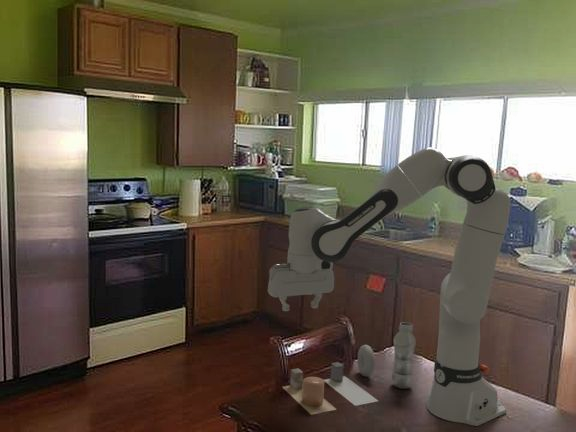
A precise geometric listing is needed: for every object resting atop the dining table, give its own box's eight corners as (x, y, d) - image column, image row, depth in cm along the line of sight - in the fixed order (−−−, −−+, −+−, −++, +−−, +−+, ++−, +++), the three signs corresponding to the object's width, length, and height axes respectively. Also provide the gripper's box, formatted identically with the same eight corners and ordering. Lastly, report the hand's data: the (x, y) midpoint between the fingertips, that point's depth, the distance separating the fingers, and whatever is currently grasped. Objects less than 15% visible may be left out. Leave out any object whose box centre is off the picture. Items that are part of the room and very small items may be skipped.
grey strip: (344, 379, 172) (345, 360, 171) (378, 404, 156) (379, 384, 155) (322, 383, 168) (323, 364, 168) (354, 409, 152) (356, 388, 152)
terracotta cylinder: (316, 395, 158) (317, 375, 157) (327, 404, 152) (328, 383, 151) (298, 398, 155) (299, 378, 154) (308, 408, 150) (309, 387, 149)
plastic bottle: (412, 392, 165) (417, 328, 163) (390, 389, 166) (394, 326, 164) (412, 383, 171) (417, 322, 169) (390, 381, 173) (395, 319, 170)
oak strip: (305, 386, 166) (306, 367, 165) (336, 412, 150) (337, 392, 149) (281, 390, 162) (282, 370, 161) (310, 418, 146) (312, 396, 145)
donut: (375, 382, 171) (377, 351, 170) (364, 382, 171) (366, 351, 169) (365, 369, 181) (367, 340, 180) (355, 369, 180) (357, 340, 179)
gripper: (274, 267, 150) (272, 315, 152) (338, 263, 159) (335, 308, 161) (265, 262, 156) (263, 309, 158) (327, 258, 165) (324, 303, 167)
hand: (300, 309), depth 159 cm, fingers open, 8 cm apart
